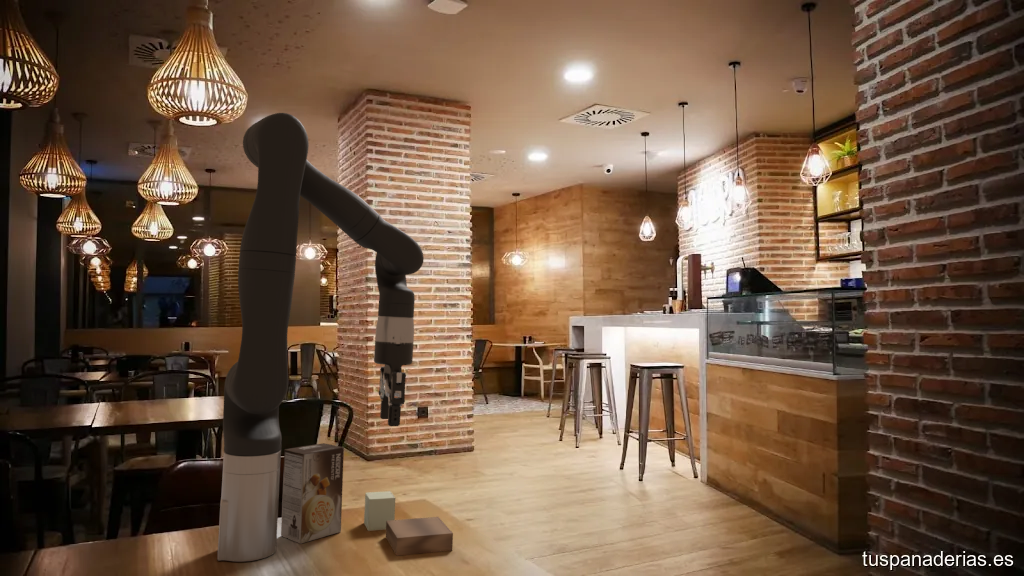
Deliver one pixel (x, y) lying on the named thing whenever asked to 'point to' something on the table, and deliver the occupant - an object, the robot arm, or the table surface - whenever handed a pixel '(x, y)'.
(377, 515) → the sage block
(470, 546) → the table surface
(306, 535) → the coffee box
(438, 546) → the walnut plinth
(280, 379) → the robot arm
